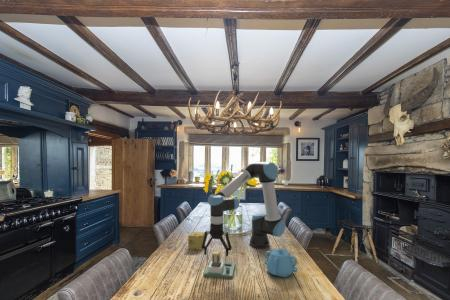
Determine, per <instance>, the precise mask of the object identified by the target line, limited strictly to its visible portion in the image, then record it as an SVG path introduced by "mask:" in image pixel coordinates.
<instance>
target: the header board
mask: <svg viewBox="0 0 450 300" xmlns="http://www.w3.org/2000/svg"><path fill="white" fill-rule="evenodd" d="M235 267H236V261H228V260H227V261H226V263H225V260H220V267H212V259H209V261H208V263H207V267H205V270H204V272H203V277H207V278H208V277H209V278H220V279H221V278H222V279H233V276H234V272H235Z"/></svg>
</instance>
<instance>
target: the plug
mask: <svg viewBox="0 0 450 300" xmlns="http://www.w3.org/2000/svg"><path fill="white" fill-rule="evenodd" d="M221 252H222V251H221V250H219V249H218V250H217V249H216V250H213V251H212V252H211V253H212V254H211V255H212V256H211V260H212V267H220V261H221Z"/></svg>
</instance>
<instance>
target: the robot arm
mask: <svg viewBox="0 0 450 300" xmlns="http://www.w3.org/2000/svg"><path fill="white" fill-rule="evenodd" d="M278 169H279V168H278V166H277V165H276V163H273V162H271V161H253V162H251V163H249V164H248V165H246V166H245V167H243V168H242V169H241V170H240V173H238V175H236V176H235V177H234V178H233V179H232V180H230V181H229V182H228V183H227V184H226V185H224V186H223V187H222V188H221V189H220V190H219V191H218V192H217V193H215V194H210V195H209V196H208V198H207V203H208V205H209V206H210V208H209V209H210V212H209V213H210V216H209V217H210V220H209V222H210V225H209V227H210V228H209V230H206V231H205V237H204V240H203V243H202V247H201V248H202V250H204V252H203V253H204V256H205V262H209V246H210V244H211V242H212V240H219V241H220V243H221V244H222V246H223V248H224V261H225V263H226V261H228V260H227V258H228V257H229V251H231V250H232V243H231V241H230V240H231V239H230V237H229V231H227V232H225V231H224V212H229V211H234V210H237V209H239V207H240V201H239V199H238V197H235V196H234V197H233V196H232V195H234V194H235V193H236V192H237V191H238V190H239V189H241V187H242V186H244V184H246V183H247V182H249V181H251V180H252V179H255V178H257V179H258V181H259V183H260V184H261V187H262V193H263V201H264V207H265V213H256V214H253V215H252V218H251V236H250V239H249V246H250V247H252V248H255V249H265V248H269V247H270V246H271V245H270V240H269V237H268V235H270V236H273V237H278V238H280V237H281V236H283V235H284V233H285V231H286V222H285V221H284V220H282V217H281V215H280V214H279V210H278V202H277V196H276V189H275V182H276V180H277V178H278V174H279V170H278ZM231 196H232V197H231ZM209 235H210V236H211V237H210V238H209V240H208V242H207V243H206V241H207V238H208V236H209ZM223 236H224V237H225V239H226V240H225V239H224V237H223ZM204 245H205V246H204Z"/></svg>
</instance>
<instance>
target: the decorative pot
mask: <svg viewBox="0 0 450 300" xmlns="http://www.w3.org/2000/svg"><path fill="white" fill-rule="evenodd" d="M268 253H269V256H268ZM264 257H265V261H264V265H266V269H267V271H268V273H269V274H271V275H273V276H276V277H281V278H283V279H284V278H287V277H289V276H291V275H292V273H297V272H298V268H297V267H296V265H297V262H298V261H297V258H296V257H295V255H292V254H291V253H290V252H289V251H288V250H287V249H283V248H278V249H277V248H276V249H273V250H267V251H266V252H265V256H264Z"/></svg>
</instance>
